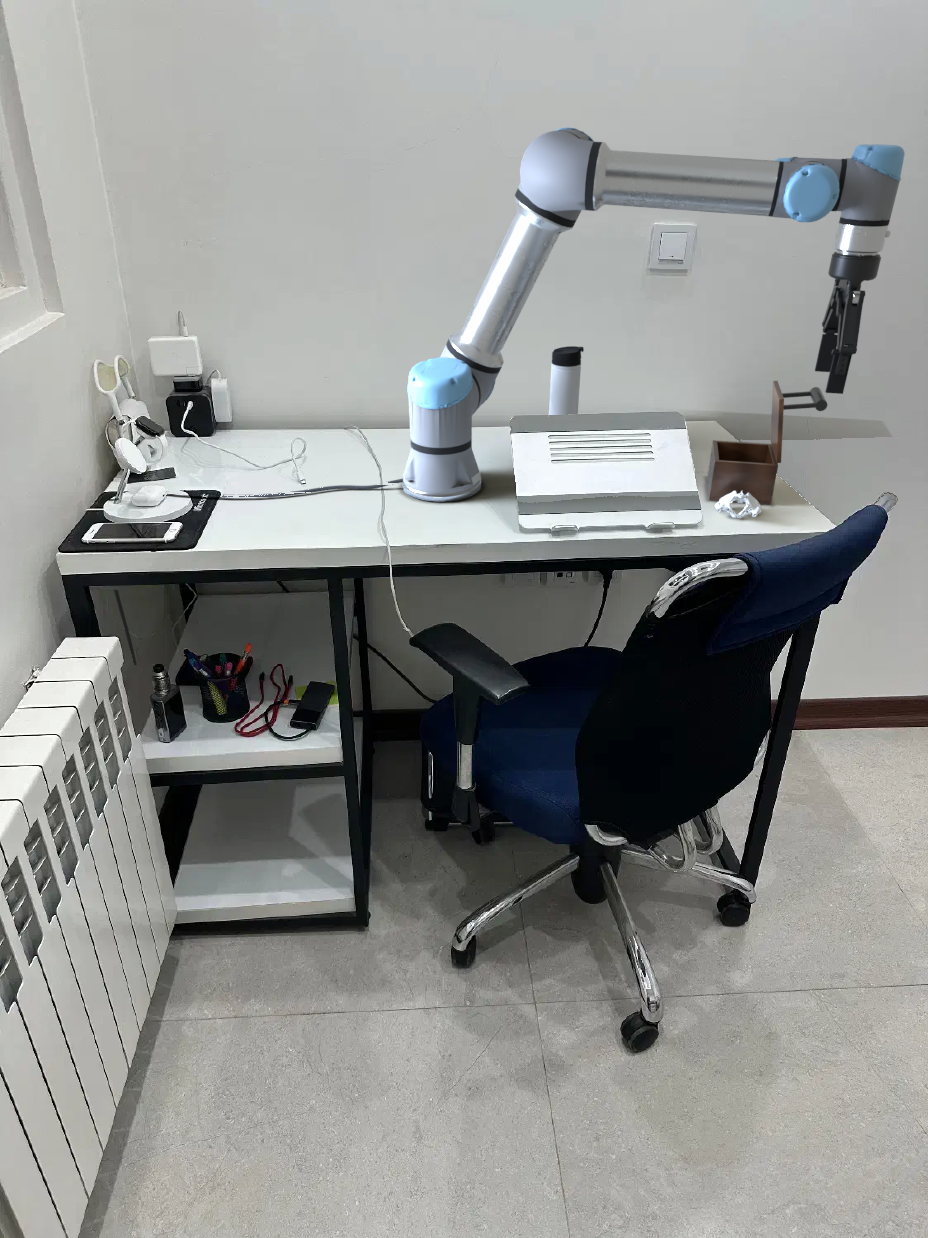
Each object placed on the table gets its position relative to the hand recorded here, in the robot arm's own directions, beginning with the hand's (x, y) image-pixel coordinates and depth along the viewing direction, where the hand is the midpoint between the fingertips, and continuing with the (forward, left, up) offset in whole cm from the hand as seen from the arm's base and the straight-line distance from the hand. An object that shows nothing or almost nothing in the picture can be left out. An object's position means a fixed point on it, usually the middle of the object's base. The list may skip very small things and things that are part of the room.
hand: (828, 381), depth 152 cm
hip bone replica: (-13, -11, -22) cm, 28 cm away
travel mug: (-48, +23, -22) cm, 58 cm away
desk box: (-12, 0, -22) cm, 25 cm away
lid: (-8, 0, -8) cm, 11 cm away
